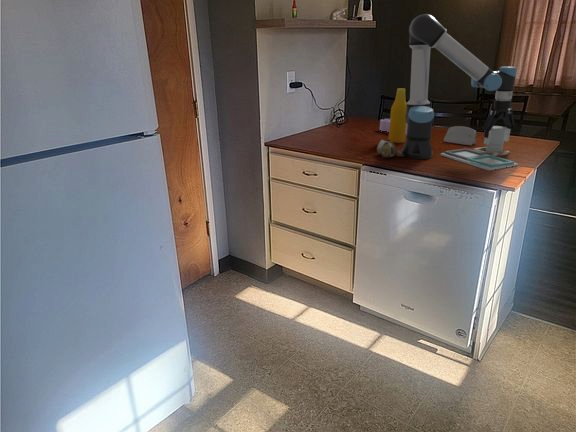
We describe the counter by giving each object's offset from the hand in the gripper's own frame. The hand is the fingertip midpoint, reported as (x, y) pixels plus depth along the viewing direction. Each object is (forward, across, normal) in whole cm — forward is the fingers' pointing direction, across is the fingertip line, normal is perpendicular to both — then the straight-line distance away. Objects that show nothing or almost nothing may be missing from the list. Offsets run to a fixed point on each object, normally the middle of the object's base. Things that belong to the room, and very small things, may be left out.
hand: (496, 142), depth 222 cm
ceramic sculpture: (+5, -54, +17) cm, 57 cm away
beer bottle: (+4, -29, +42) cm, 52 cm away
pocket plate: (+5, -20, -8) cm, 22 cm away
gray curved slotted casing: (+5, +2, +25) cm, 26 cm away
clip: (+5, -13, +64) cm, 66 cm away
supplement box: (+5, 0, 0) cm, 5 cm away
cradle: (+5, -3, 0) cm, 6 cm away
